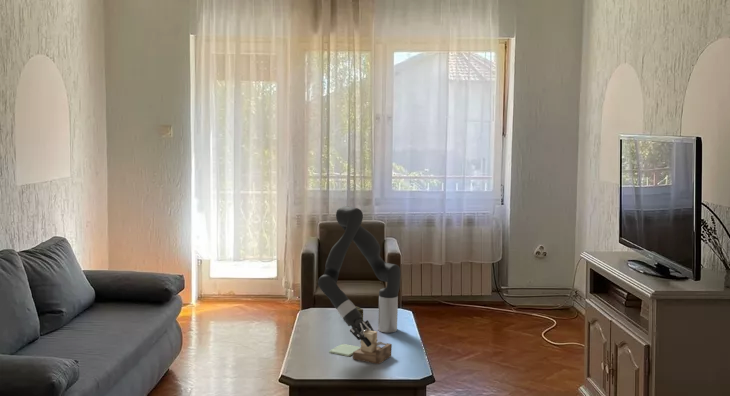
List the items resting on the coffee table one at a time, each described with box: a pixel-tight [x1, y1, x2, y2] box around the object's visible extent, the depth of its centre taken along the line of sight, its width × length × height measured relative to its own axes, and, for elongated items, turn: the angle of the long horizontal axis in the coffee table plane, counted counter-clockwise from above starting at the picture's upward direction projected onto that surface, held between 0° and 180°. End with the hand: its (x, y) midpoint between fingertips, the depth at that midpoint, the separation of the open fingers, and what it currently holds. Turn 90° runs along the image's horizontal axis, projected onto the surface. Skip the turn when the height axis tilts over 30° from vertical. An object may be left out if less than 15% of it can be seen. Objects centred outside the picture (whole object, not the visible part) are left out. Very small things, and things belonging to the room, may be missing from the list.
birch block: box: [360, 329, 378, 353], centre depth 314 cm, size 5×5×8 cm
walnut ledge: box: [352, 343, 393, 365], centre depth 313 cm, size 12×12×6 cm
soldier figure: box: [359, 340, 388, 348], centre depth 326 cm, size 8×5×12 cm
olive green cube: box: [355, 305, 364, 321], centre depth 370 cm, size 7×7×7 cm
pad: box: [328, 343, 361, 357], centre depth 322 cm, size 12×10×1 cm
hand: (372, 343), depth 313 cm, fingers closed on birch block, 5 cm apart
